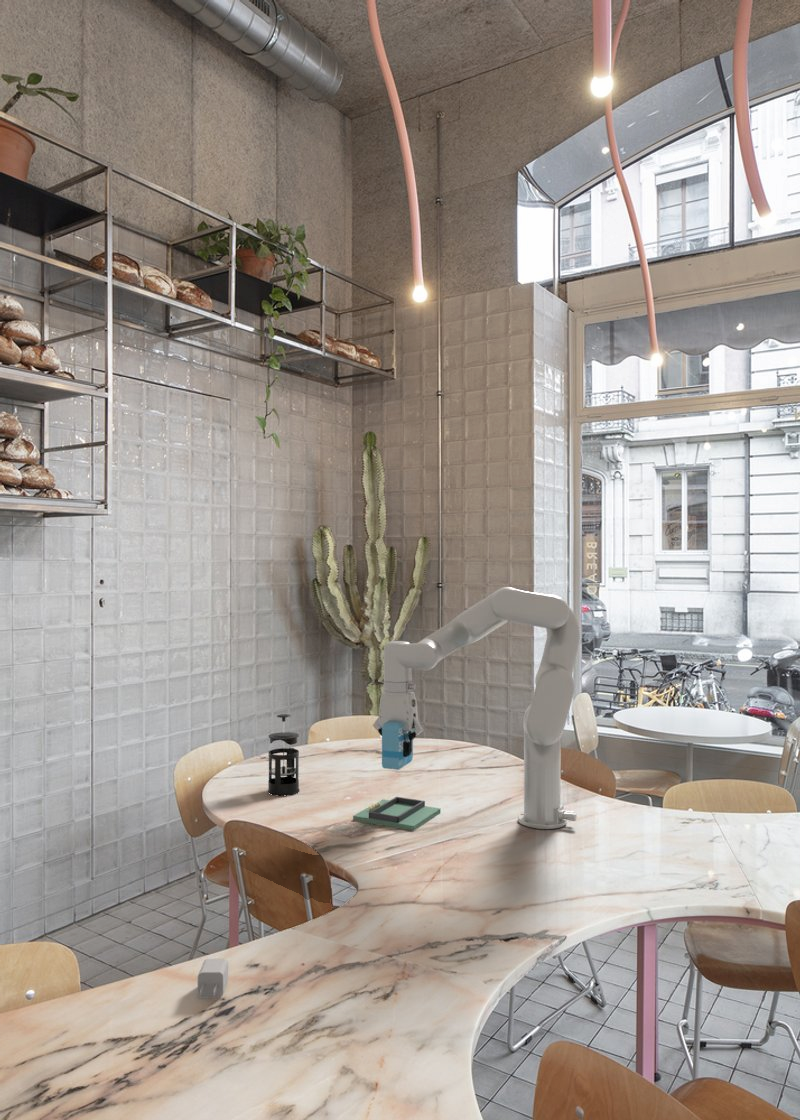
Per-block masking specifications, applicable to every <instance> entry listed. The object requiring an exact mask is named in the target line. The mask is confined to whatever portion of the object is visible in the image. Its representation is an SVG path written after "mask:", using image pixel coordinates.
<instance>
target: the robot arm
mask: <svg viewBox="0 0 800 1120" xmlns="http://www.w3.org/2000/svg"><path fill="white" fill-rule="evenodd" d="M508 622H511V623H514V624H520V625H526V626H532V627H538V628H541V629H542V628H544V629H545V631H546V640H545V644H544V649H543V653H542V657H541V659H540V663H539V667H538V670H537V671H536V672H537V673H536V675H535V681H534V684H535V689H534V693H533V696H532V699H531V703H530V705H528V706H527V708H526V710H525V712H524V714H523V720H522V721H523V723H522V724H523V812H520V813H519V814H518V816H517V821H518V822H519V823H520V824H521V825H522V826H524V827H528V828H532V829H537V830H538V829H539V830H555V829H559V828H563V827H565V826H566V825H567V821H571V822H576V821H577V813H575V811H572V810H566V809H565V806H564V805H565V804H562V803H561V800H562V799H561V785H562V784H561V781H562V780H561V761H562V759H561V757H562V756H561V755H562V754H561V753H562V752H561V747H562V746H561V737H562V735H563V732H564V730H565V728H566V723H567V720H568V715H569V713H570V709H571V705H572V702H573V697H574V693H575V681H574V677H573V671H574V667H575V663H576V660H577V655H578V649H579V645H580V639H581V638H580V637H581V634H580V633H581V632H580V627H579V622H578V620H577V618H576V615H575V612H574V611H573V609H572V608H570V606H569V605H568V603H567V602H566V601H565V599H563V598H562V597H560V596H558V595H555V594H554V593H553V594H552V593H551V594H545V593H538V592H531V591H525V590H521V589H517V588H514V587H511V586H504V587H501V588H499V589H497V590H495V591H493V592H492V593H491V594H489V595H488V596H486V597H485V598H483V599H481V600H480V601H478V602H477V603H475V604H474V605H472V606H471V607H469V608H468V609H466V610H464V611H463V612H461V613H460V614H458V615H457V616H456V617H454V618H453V619H452V620H451V621H450V622H448V623H447V624H445V625H443V626H442V627H440V628H439V629H437V630H435V631H434V632H432V633H431V634H429V635H428V636H426V637H424V638H423V639H421V640H420V641H419V642H415V643H414V642H413V643H410V642H409V641H407V640H406V641H404V640H391V641H387V642H386V643H385V644H384V645H383V691H382V692H381V696H380V699H379V708H378V718H377V719H376V720H375V722H374V723H373V724H372V727H373V728H374V729H375V730H376V731H377V733H379V735H380V736H381V737H382V726H383V724H384V723H386V722H388V721H390V722H400V723H402V726H403V732H404V738H405V742H404V743H403V756H404V757H407V756H410V755H411V752H412V740H413V741H414V739H415V738H416V737H417V736H418V735H420V733H422V732H423V731H424V728H423V726H422V725H421V724H420V722H419V714H418V713H419V712H418V702H417V698H416V694H415V692H414V691H413V690H416V688H417V685H416V684H415V683H413V677H412V675H413V673H412V671H413V670H419V671H430V670H432V669H434V668H435V667H436V666H437V664H438V663H439V662H441V661H442V660H443V659H444V658H446V657H448V656H449V655H451V654H453V653H454V652H456V651H457V650H459V649H461V648H462V647H464V646H467V645H470V644H473V643H476V642H478V641H479V640H482V639H483V638H484V637H486V636H487V635H489V634H490V633H492V632H493V631H495V630H497V629H499V628H500V627H502V626H503V625H505V624H506V623H508ZM412 669H413V670H412ZM412 729H413V732H412ZM564 825H565V826H564Z"/></svg>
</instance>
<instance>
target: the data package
mask: <svg viewBox="0 0 800 1120" xmlns="http://www.w3.org/2000/svg"><path fill="white" fill-rule="evenodd" d="M412 732H414V728H413V729H412ZM404 742H405V738H404V732H403V726H402V723H400V722H390V721H388V722H386V723H384V724H383V726H382V736H381V767H382V768H383V769H386V770H396V771H397V770H399V771H400V769H402V768H404V767H405V766H407V765H408V764H410V763H411V762H412V761H413V756H414V739H413V740H412V752H411V755H410V756H407V757H404V756H403V743H404Z"/></svg>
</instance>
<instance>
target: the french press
mask: <svg viewBox="0 0 800 1120" xmlns="http://www.w3.org/2000/svg"><path fill="white" fill-rule="evenodd" d="M291 716H292V715H291V714H289V713H288V714H287V713H281V714H278V715H276V717H277V718H282V719H281V722H282V723H283V724H282V732H281V731H280V732H274V733H270V734H269V735H268V738H269V744H273V743H274V742H276V741H282V747H281V748H275V749H274V748H273V749H270V750H269V751H268V784H267V785H268V786H267V787H268V788H267V789H268V790H267V794H268V793H270V794H272V795H271V796H273V795H278V796H277V797H288V796H287V795H291V796H294V794H295V795H297V794H299V793H300V787H299V785H300V783H299V782H300V780H299V765H300V764H299V761H300V760H299V756H300V755H299V754H300V750H298V749H297V748H294V747H285V744H287V745H290V746H292V745H296V744H297V743H298V738H299V736H300V735H299V733H296V732H292V731H291V732H288V731H285V722H286V718H291ZM281 753H282V754H281ZM285 753H286V754H285ZM272 760H274V768H273V767H272V766H273V761H272ZM285 761H286V766H285ZM281 763H282V764H281ZM281 765H282V766H281ZM272 776H274V777H272ZM298 792H299V793H298ZM296 793H297V794H296ZM270 794H269V795H270ZM284 795H286V796H284Z"/></svg>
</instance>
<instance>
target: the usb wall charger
mask: <svg viewBox="0 0 800 1120" xmlns="http://www.w3.org/2000/svg"><path fill="white" fill-rule="evenodd" d="M228 981H229V961H228V959H227V958H206V959H205V960H204V961H203V962H202V965H201V967H200V969H199V971H198V974H197V996H198V997H199V998H200V999H202V998H203V999H204V998H205V999H211V998H213V999H214V998H222V997H223V995H224V993H225V989H226V987H227V984H228Z"/></svg>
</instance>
